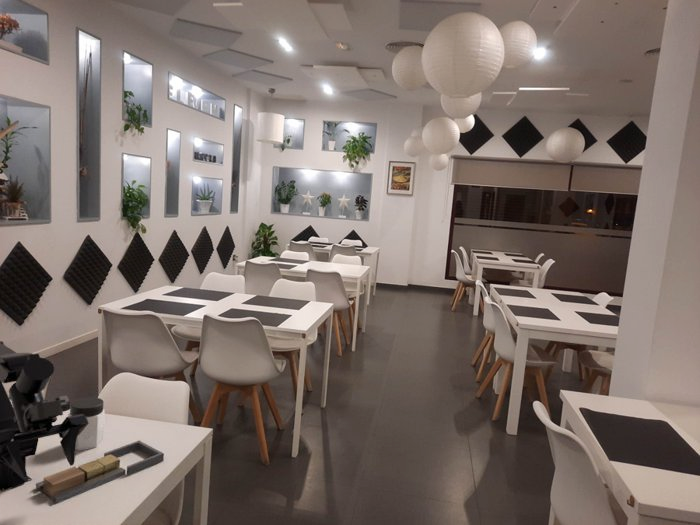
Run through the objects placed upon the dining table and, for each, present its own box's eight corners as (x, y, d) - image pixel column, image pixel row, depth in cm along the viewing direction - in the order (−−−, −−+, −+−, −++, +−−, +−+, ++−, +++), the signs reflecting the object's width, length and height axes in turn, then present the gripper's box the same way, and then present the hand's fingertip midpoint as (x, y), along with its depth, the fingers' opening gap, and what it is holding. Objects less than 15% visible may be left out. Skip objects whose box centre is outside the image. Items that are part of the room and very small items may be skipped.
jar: (68, 454, 132) (69, 410, 131) (65, 441, 139) (67, 399, 138) (105, 447, 137) (107, 405, 136) (101, 435, 144) (103, 395, 143)
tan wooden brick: (43, 491, 114) (43, 477, 114) (74, 479, 120) (74, 466, 120) (53, 498, 112) (53, 484, 111) (84, 485, 118) (84, 472, 117)
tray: (103, 462, 130) (104, 453, 129) (138, 449, 138) (139, 440, 138) (128, 477, 124) (128, 467, 123) (163, 462, 132) (163, 453, 132)
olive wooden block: (77, 478, 121) (78, 466, 120) (94, 471, 124) (94, 460, 124) (87, 484, 118) (87, 472, 118) (103, 477, 122) (103, 465, 121)
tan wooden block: (94, 471, 124) (95, 459, 124) (110, 465, 127) (110, 454, 127) (104, 477, 122) (104, 465, 122) (119, 470, 125) (119, 459, 125)
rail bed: (35, 490, 115) (36, 483, 115) (104, 464, 129) (104, 457, 129) (55, 505, 110) (56, 498, 110) (125, 476, 124) (125, 469, 124)
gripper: (-7, 392, 98) (13, 464, 92) (87, 378, 114) (110, 439, 108) (-26, 422, 103) (-8, 493, 97) (67, 404, 118) (88, 465, 112)
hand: (49, 471), depth 103 cm, fingers open, 9 cm apart
